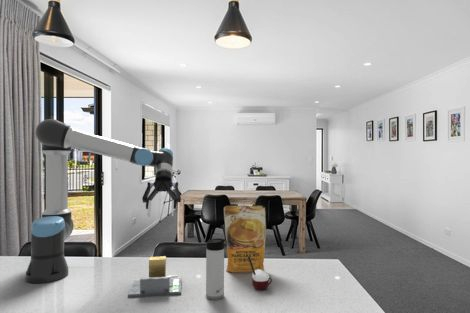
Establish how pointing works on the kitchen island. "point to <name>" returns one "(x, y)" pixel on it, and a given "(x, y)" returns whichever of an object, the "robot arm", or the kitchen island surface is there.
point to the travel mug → (215, 269)
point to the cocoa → (259, 278)
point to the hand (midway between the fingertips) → (160, 214)
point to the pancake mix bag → (245, 237)
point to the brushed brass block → (158, 267)
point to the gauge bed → (155, 287)
